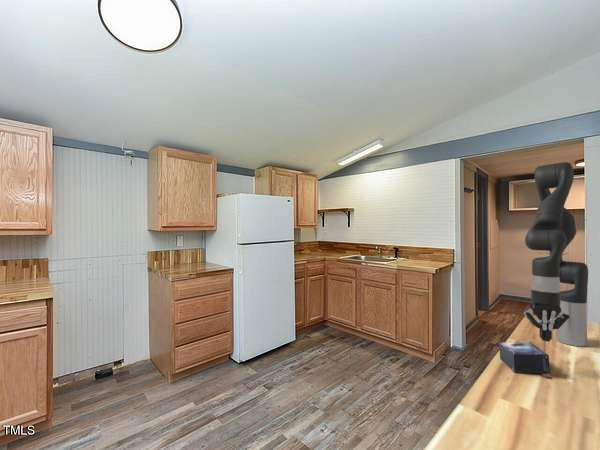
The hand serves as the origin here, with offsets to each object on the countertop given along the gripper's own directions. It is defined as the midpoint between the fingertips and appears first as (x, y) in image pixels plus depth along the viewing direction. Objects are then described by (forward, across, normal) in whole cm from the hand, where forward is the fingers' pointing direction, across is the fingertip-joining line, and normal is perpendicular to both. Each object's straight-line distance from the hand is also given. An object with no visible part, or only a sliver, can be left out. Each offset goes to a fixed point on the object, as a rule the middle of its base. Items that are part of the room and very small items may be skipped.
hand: (545, 340), depth 98 cm
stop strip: (+10, +3, 0) cm, 10 cm away
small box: (+6, +1, 0) cm, 6 cm away
